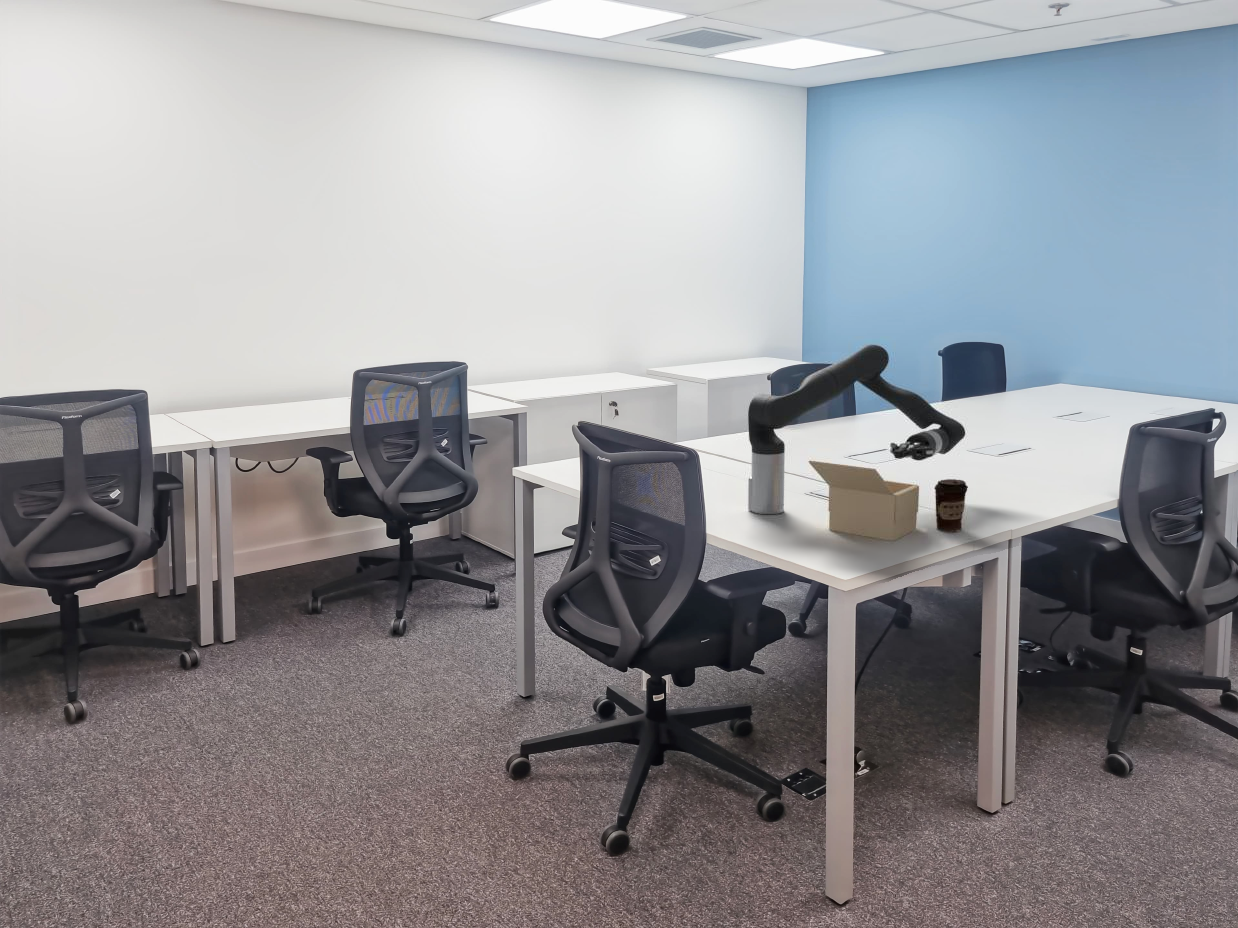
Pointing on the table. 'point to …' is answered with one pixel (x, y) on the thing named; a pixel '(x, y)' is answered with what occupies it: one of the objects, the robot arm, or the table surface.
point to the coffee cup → (950, 504)
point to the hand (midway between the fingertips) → (897, 454)
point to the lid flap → (852, 477)
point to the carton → (874, 511)
